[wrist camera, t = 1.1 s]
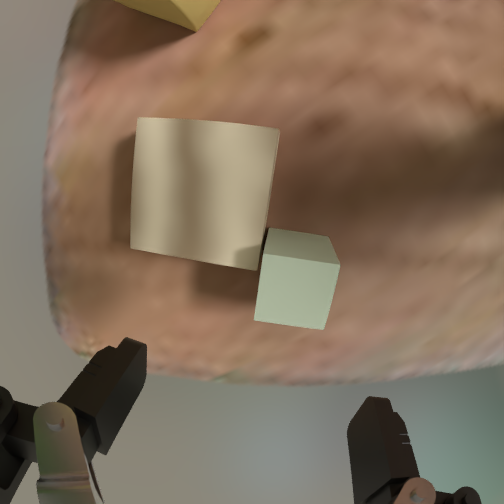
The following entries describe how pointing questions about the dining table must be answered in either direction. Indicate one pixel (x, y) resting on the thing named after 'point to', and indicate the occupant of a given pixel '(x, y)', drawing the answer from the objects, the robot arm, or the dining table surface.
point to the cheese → (176, 10)
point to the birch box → (202, 189)
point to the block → (296, 279)
